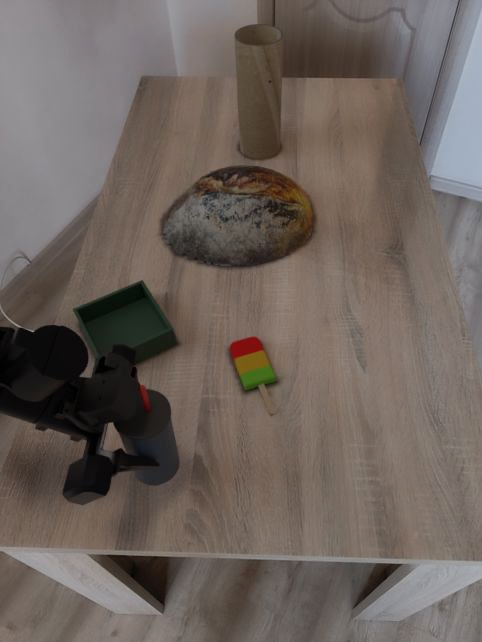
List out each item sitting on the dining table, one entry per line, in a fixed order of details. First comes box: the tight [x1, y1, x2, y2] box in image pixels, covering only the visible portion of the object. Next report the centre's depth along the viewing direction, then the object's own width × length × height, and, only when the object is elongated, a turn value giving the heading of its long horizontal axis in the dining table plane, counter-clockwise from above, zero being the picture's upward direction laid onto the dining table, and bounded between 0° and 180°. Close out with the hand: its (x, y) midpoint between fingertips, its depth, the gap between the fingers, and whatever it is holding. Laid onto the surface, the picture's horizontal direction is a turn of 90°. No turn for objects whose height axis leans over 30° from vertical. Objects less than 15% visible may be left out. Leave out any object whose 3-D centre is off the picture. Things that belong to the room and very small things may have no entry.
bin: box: [72, 279, 178, 365], centre depth 83 cm, size 13×13×4 cm
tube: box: [234, 23, 284, 160], centre depth 107 cm, size 10×10×25 cm
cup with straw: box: [112, 384, 181, 487], centre depth 59 cm, size 7×7×18 cm
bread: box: [162, 164, 315, 267], centre depth 98 cm, size 27×32×10 cm
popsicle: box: [229, 336, 277, 415], centre depth 79 cm, size 6×15×2 cm, turn 20°
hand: (161, 440), depth 61 cm, fingers closed on cup with straw, 6 cm apart
